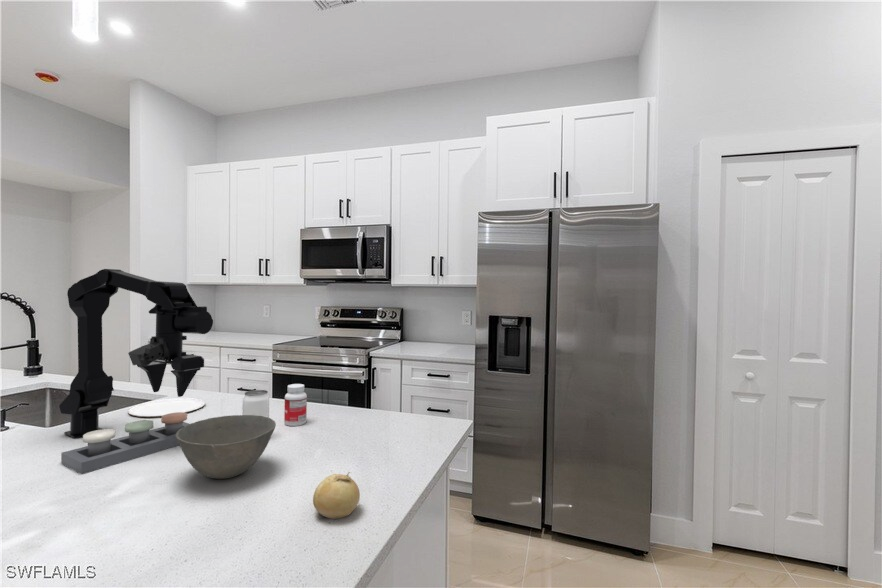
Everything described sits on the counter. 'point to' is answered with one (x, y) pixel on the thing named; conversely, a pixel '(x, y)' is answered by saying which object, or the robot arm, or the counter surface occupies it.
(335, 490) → the onion
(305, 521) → the counter surface
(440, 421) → the counter surface
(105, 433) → the ivory button
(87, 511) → the counter surface
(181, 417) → the terracotta button
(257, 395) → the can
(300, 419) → the pill bottle
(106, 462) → the panel
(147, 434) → the sage button
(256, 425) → the bowl
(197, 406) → the plate
